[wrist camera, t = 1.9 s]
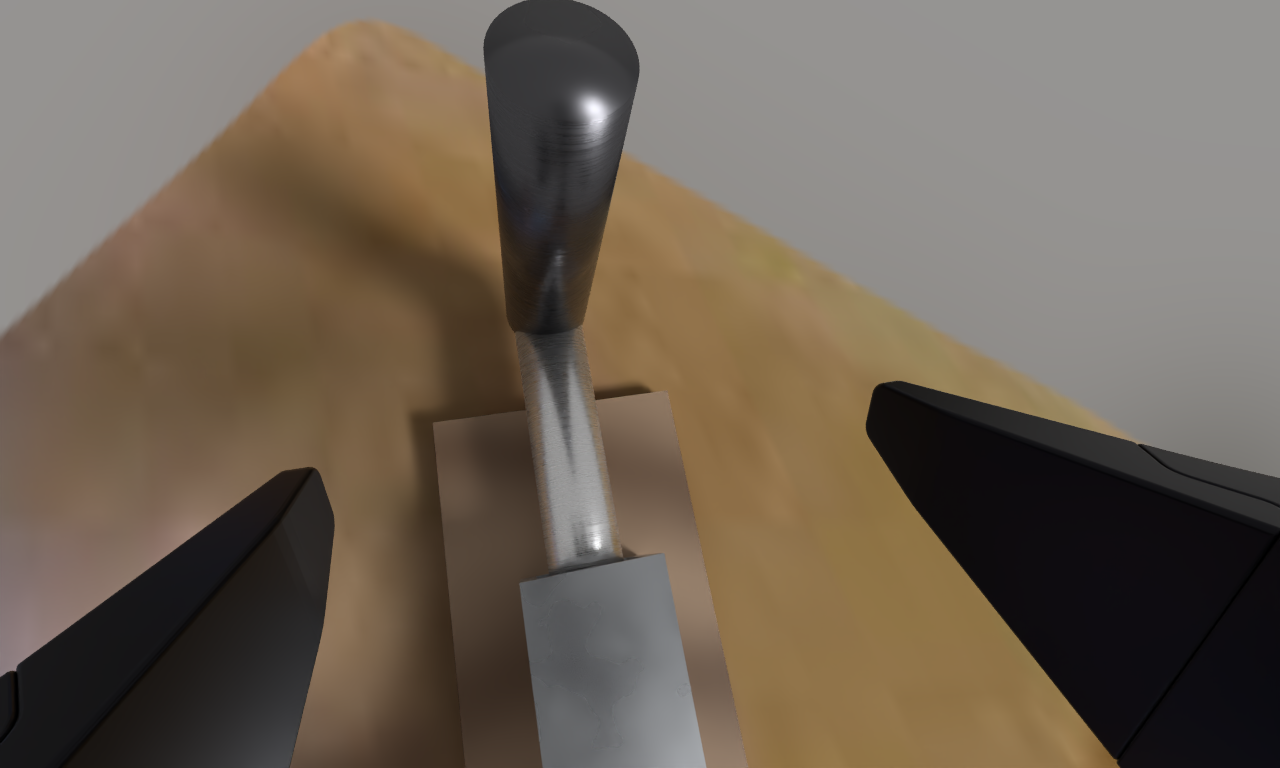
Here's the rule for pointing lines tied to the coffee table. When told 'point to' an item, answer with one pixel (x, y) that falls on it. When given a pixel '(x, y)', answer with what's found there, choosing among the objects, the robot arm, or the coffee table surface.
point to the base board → (515, 549)
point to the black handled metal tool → (559, 243)
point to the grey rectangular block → (610, 668)
